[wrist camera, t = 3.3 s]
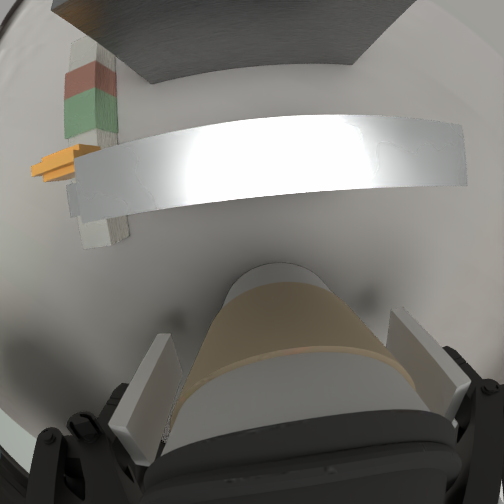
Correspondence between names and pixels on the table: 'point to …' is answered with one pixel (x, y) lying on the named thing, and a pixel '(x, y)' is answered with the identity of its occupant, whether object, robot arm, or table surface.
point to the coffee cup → (299, 408)
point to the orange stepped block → (61, 163)
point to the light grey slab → (266, 162)
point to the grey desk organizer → (197, 53)
